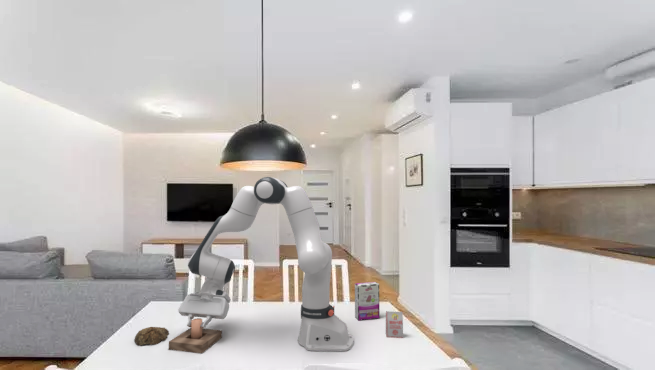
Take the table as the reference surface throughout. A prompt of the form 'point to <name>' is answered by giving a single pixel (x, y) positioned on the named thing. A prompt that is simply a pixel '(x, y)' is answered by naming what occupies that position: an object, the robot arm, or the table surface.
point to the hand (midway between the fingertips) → (195, 327)
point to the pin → (196, 329)
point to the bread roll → (151, 336)
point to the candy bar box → (367, 301)
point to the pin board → (195, 341)
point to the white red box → (394, 324)
